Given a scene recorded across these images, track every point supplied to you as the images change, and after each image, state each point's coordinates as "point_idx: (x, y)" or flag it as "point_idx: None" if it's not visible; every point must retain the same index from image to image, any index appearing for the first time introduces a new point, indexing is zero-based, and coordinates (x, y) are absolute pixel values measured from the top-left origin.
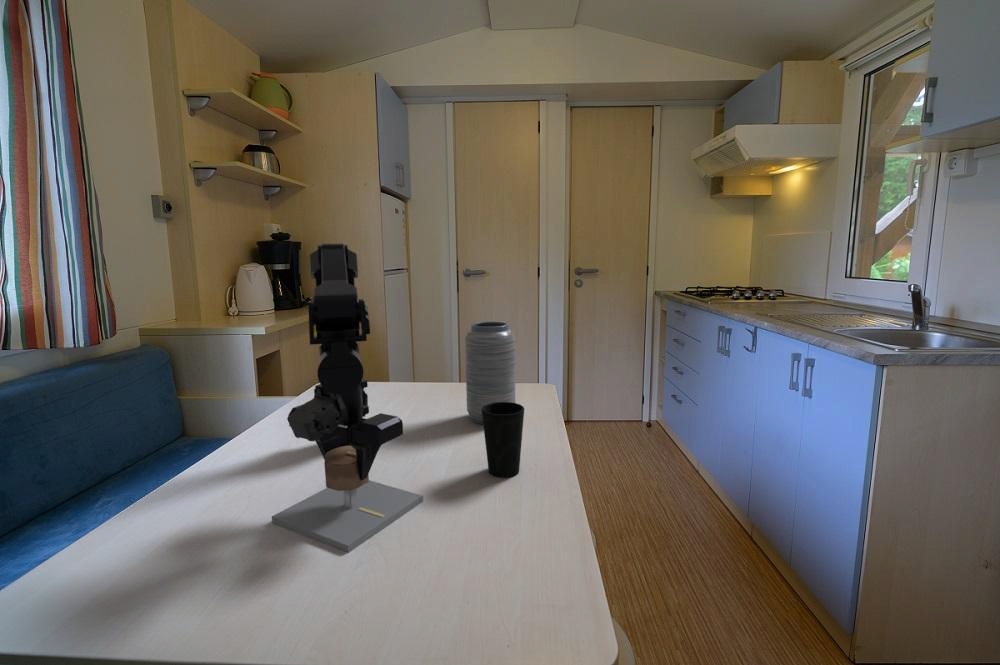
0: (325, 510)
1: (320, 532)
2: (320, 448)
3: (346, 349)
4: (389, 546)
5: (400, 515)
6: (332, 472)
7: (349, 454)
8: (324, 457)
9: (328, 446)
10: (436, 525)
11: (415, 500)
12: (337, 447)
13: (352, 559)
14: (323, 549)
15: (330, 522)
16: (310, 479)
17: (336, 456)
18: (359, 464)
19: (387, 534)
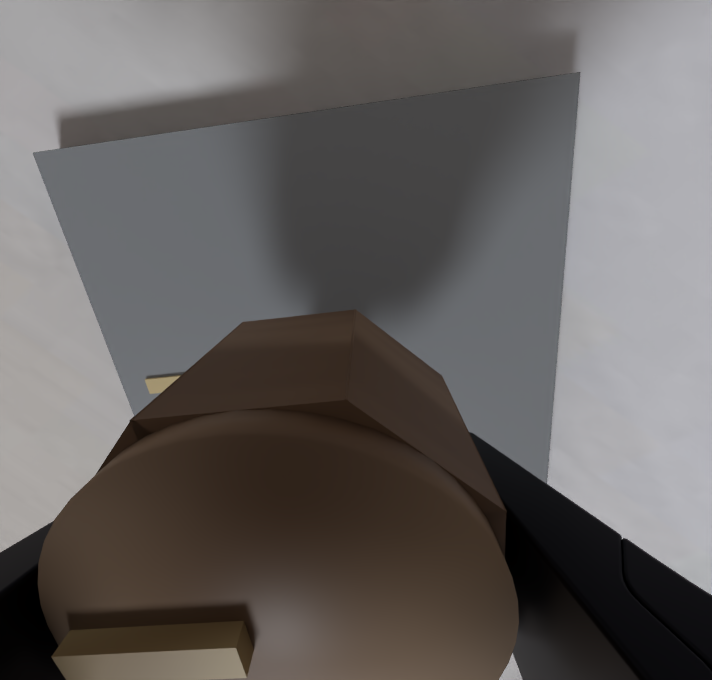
0: (384, 281)
1: (228, 143)
2: (656, 582)
3: None
4: (4, 283)
5: None
6: (244, 366)
7: (187, 635)
8: (539, 495)
9: (575, 659)
10: (30, 453)
11: None
12: (528, 670)
13: (4, 135)
14: (155, 102)
15: (272, 229)
16: (709, 427)
17: (284, 545)
18: (29, 554)
19: (84, 331)
